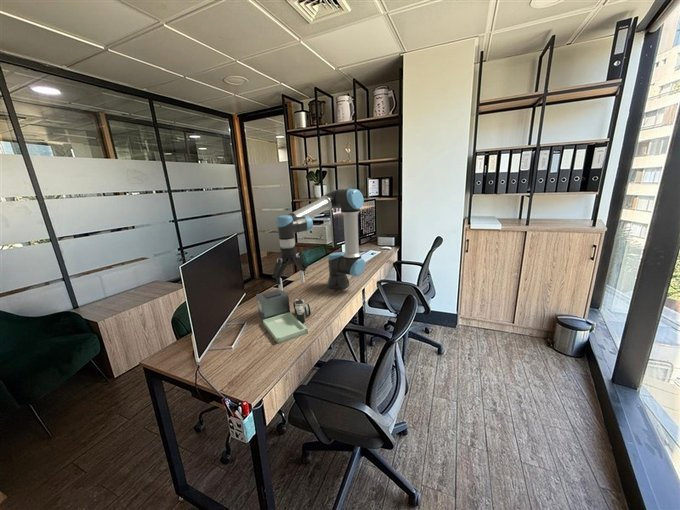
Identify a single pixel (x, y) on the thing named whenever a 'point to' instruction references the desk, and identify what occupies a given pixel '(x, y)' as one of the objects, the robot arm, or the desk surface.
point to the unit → (272, 303)
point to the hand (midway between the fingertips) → (292, 286)
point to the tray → (284, 327)
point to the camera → (301, 310)
